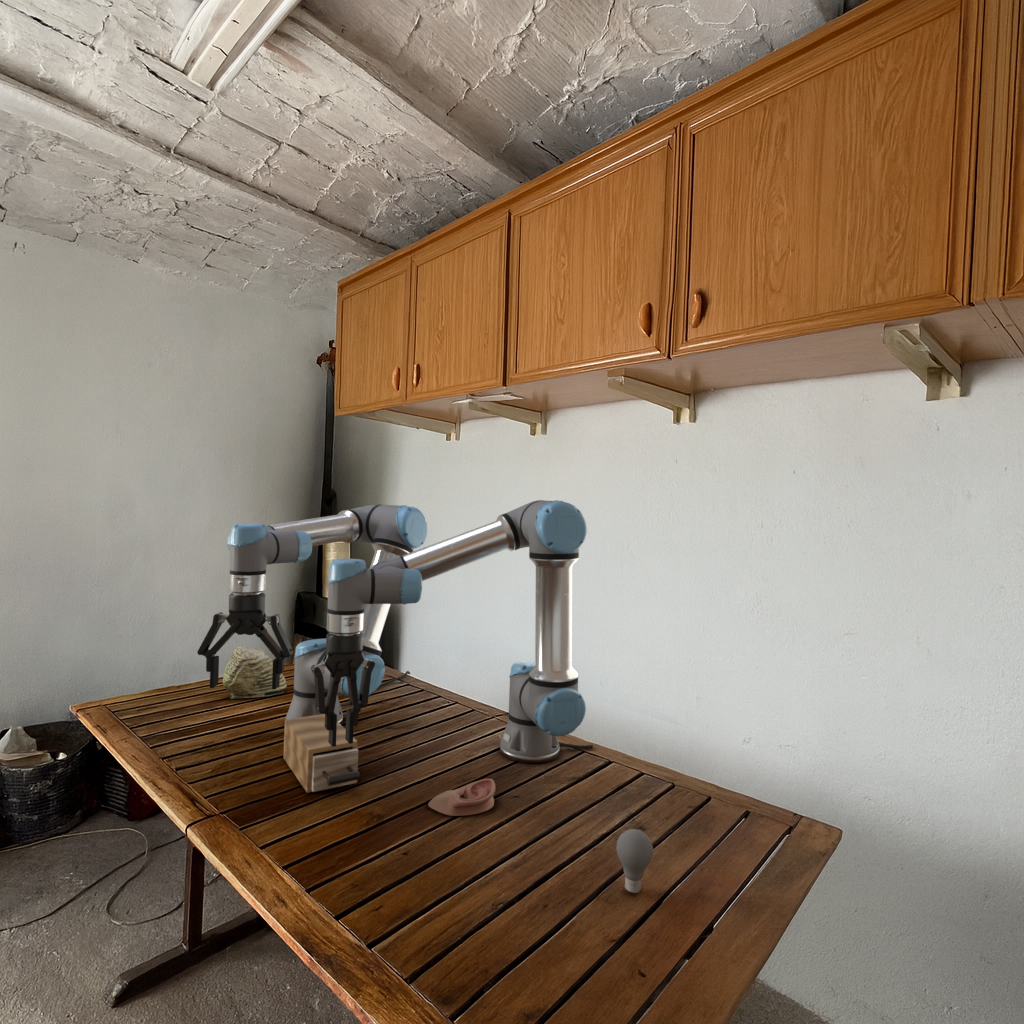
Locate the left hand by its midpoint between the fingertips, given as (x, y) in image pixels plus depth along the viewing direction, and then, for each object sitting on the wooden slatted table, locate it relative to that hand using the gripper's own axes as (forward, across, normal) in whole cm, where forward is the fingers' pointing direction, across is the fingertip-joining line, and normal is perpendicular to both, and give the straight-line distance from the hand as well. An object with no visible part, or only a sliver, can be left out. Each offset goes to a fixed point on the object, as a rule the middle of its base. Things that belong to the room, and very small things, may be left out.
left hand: (244, 687), depth 142 cm
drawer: (+19, +19, -1) cm, 27 cm away
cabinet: (+20, +16, +4) cm, 26 cm away
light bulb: (+20, +79, -40) cm, 91 cm away
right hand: (+8, +24, -9) cm, 27 cm away
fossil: (+20, -18, +56) cm, 63 cm away
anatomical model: (+20, +50, -11) cm, 55 cm away
